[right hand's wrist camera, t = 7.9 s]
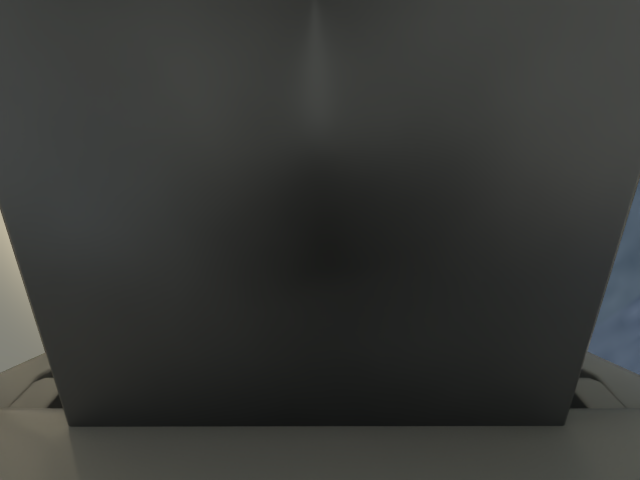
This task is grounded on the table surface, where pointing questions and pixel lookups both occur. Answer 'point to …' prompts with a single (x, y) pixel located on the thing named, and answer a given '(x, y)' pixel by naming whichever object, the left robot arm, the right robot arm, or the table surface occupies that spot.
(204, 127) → the box
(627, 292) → the table surface
